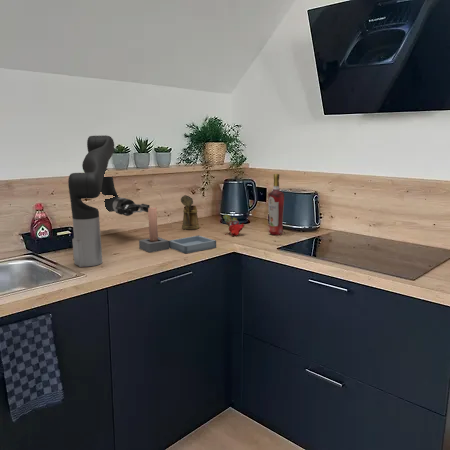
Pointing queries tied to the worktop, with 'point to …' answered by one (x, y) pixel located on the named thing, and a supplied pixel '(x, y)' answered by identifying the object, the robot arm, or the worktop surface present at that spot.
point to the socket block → (153, 245)
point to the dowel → (153, 224)
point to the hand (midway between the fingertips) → (140, 211)
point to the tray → (192, 244)
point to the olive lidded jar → (189, 214)
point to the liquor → (276, 208)
